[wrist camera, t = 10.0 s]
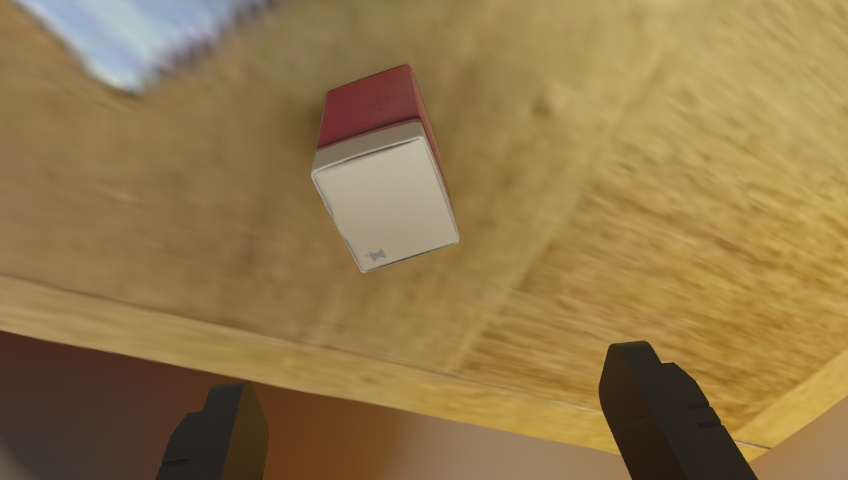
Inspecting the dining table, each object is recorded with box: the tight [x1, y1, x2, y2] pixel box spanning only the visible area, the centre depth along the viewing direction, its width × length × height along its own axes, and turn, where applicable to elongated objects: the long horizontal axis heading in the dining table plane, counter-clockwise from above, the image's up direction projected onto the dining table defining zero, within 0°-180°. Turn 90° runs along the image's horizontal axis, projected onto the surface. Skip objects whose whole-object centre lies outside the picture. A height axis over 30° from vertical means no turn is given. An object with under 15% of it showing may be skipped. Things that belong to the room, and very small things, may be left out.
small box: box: [311, 65, 460, 273], centre depth 22 cm, size 5×4×8 cm
